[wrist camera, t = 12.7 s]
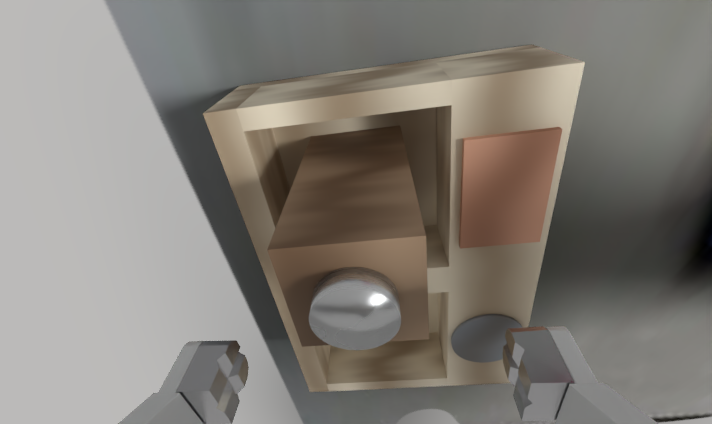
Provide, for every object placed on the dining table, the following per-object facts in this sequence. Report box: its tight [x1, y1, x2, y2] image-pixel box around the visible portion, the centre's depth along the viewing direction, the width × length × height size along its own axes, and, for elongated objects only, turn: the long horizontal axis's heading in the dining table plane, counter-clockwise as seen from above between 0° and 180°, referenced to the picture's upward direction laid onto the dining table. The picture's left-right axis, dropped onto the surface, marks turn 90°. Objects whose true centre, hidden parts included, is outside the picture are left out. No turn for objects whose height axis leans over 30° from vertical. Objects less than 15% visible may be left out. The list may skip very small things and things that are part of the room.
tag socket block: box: [203, 45, 585, 392], centre depth 22 cm, size 16×22×5 cm
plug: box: [267, 125, 429, 350], centre depth 16 cm, size 5×5×11 cm
